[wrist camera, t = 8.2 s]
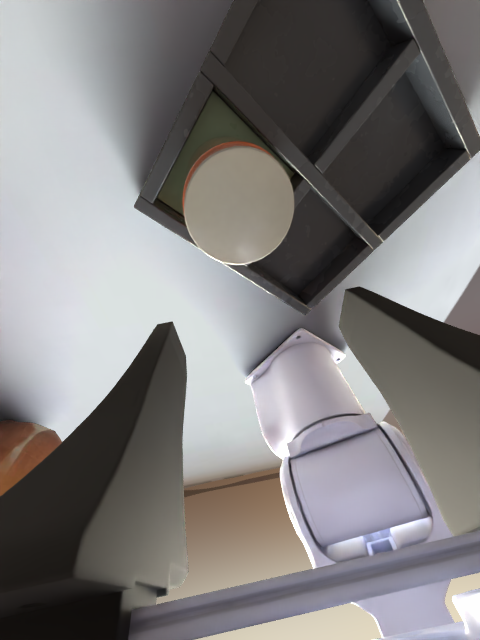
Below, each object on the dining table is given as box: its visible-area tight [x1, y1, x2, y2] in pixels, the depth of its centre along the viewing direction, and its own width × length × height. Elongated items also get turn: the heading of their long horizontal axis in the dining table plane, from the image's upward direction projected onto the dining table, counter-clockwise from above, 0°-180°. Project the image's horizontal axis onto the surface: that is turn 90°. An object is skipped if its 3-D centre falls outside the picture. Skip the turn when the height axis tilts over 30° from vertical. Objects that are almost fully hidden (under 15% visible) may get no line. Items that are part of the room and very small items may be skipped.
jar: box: [182, 136, 294, 265], centre depth 13 cm, size 5×5×6 cm
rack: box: [134, 0, 480, 315], centre depth 15 cm, size 15×15×2 cm
